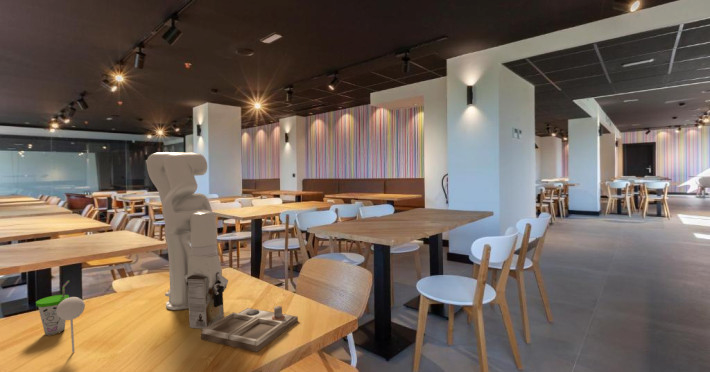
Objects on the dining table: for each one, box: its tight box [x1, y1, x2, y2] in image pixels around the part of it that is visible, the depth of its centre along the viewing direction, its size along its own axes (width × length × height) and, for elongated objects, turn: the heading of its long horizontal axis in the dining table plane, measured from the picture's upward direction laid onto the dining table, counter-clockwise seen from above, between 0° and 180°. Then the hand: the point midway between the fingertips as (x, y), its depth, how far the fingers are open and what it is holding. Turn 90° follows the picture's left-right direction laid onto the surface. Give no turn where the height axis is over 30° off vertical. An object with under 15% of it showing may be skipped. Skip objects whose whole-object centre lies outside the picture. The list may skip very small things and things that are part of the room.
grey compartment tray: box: [200, 305, 299, 353], centre depth 104 cm, size 20×20×5 cm
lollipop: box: [56, 296, 86, 353], centre depth 93 cm, size 6×6×15 cm
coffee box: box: [187, 269, 225, 330], centre depth 110 cm, size 9×6×16 cm
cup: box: [35, 280, 70, 336], centre depth 105 cm, size 8×8×15 cm
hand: (206, 303), depth 110 cm, fingers open, 9 cm apart
